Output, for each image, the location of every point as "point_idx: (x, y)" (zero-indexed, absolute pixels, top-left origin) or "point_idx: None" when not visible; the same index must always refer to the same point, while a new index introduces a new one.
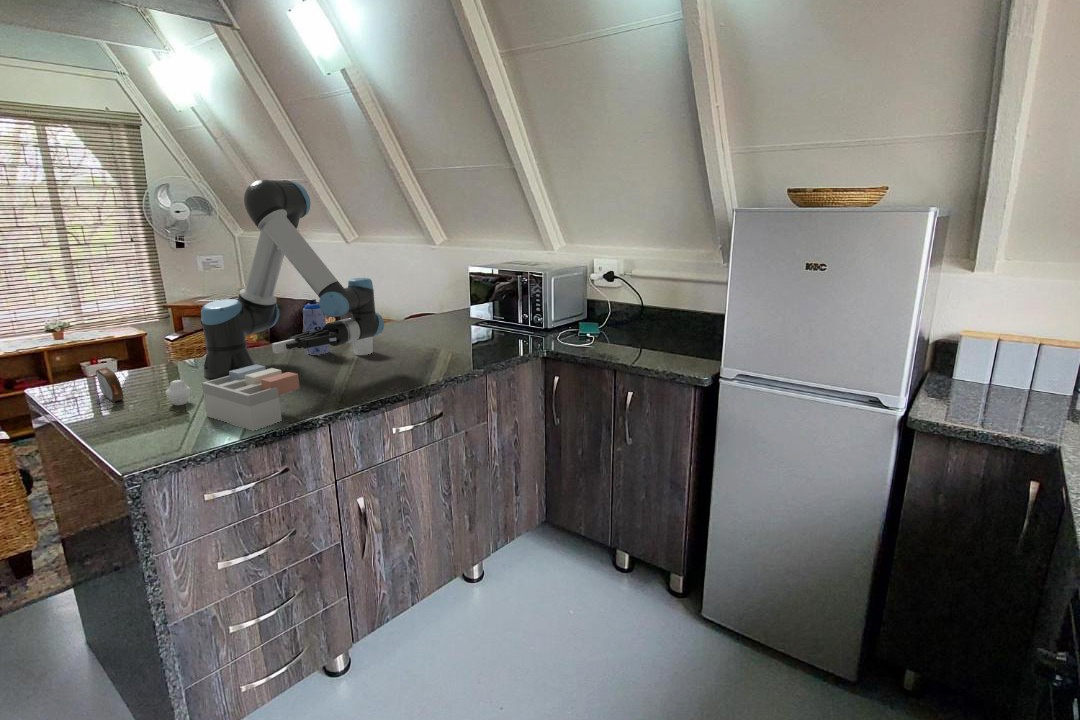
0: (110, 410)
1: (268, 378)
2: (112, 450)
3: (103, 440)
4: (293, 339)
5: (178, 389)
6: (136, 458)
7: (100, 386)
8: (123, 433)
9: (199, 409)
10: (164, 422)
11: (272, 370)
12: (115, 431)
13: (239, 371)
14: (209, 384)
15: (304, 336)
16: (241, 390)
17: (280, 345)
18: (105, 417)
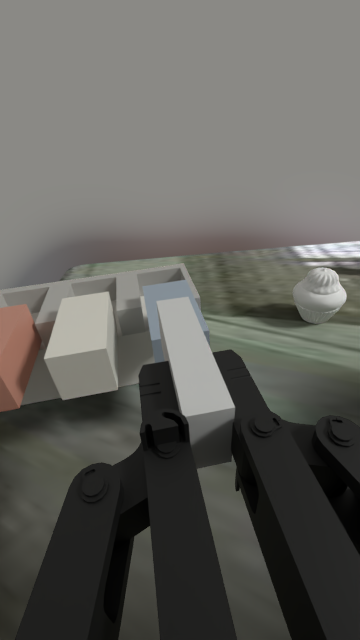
0: (328, 266)
1: (9, 314)
2: (150, 263)
3: (193, 260)
4: (195, 407)
5: (301, 284)
6: (101, 271)
7: None
8: (202, 269)
9: (245, 329)
10: (210, 294)
11: (73, 340)
12: (218, 266)
13: (159, 290)
14: (156, 268)
15: (320, 619)
16: (48, 290)
17: (162, 334)
18: (293, 263)
